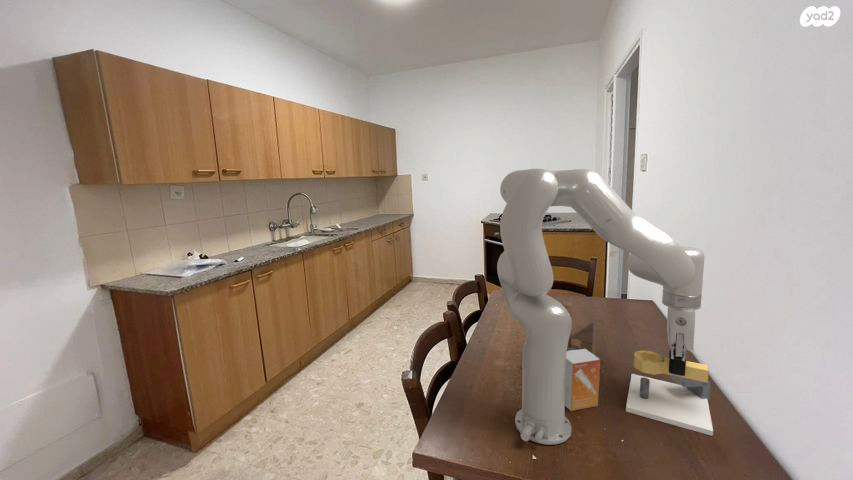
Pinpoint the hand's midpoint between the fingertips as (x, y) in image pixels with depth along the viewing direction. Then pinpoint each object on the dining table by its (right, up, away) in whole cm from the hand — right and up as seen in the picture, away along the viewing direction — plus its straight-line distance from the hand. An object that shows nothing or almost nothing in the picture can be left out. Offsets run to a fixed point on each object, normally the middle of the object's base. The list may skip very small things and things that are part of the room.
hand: (676, 369), depth 88 cm
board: (0, -10, +4) cm, 11 cm away
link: (-1, -1, +1) cm, 2 cm away
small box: (-22, -11, +6) cm, 25 cm away
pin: (-5, -10, +5) cm, 12 cm away
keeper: (+7, -9, +6) cm, 13 cm away
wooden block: (-13, -7, +28) cm, 32 cm away
